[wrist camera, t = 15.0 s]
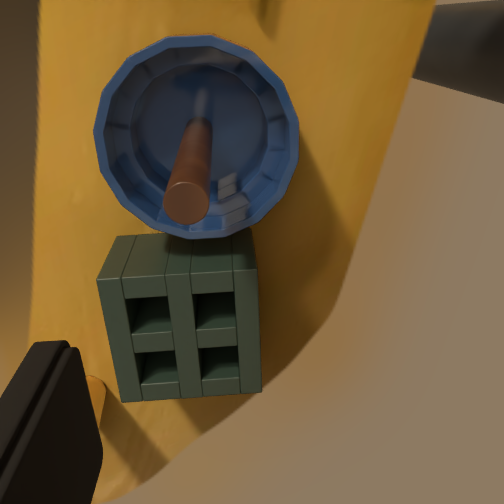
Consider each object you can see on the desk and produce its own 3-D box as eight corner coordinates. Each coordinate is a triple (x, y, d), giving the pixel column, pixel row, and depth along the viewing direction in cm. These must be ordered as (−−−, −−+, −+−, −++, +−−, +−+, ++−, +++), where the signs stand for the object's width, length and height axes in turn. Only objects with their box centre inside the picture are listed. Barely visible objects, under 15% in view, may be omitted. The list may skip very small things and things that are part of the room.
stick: (211, 115, 33) (207, 180, 19) (213, 143, 34) (211, 224, 20) (184, 117, 33) (160, 183, 19) (186, 144, 34) (165, 226, 20)
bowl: (286, 29, 31) (299, 30, 26) (287, 204, 37) (298, 233, 32) (99, 37, 31) (76, 40, 26) (127, 214, 36) (113, 244, 31)
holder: (250, 227, 37) (257, 269, 31) (255, 337, 42) (262, 392, 35) (116, 235, 37) (95, 279, 31) (135, 345, 41) (121, 403, 35)
